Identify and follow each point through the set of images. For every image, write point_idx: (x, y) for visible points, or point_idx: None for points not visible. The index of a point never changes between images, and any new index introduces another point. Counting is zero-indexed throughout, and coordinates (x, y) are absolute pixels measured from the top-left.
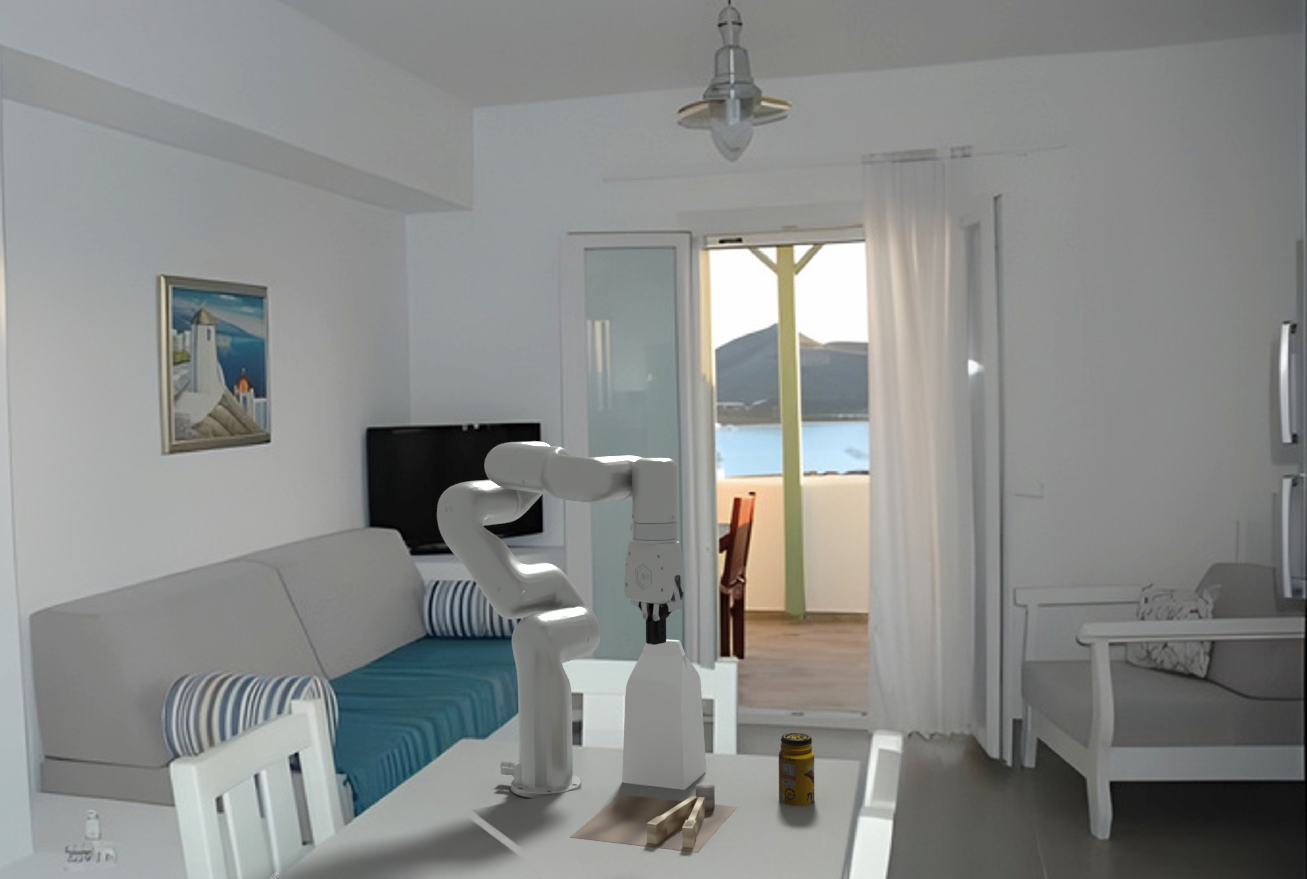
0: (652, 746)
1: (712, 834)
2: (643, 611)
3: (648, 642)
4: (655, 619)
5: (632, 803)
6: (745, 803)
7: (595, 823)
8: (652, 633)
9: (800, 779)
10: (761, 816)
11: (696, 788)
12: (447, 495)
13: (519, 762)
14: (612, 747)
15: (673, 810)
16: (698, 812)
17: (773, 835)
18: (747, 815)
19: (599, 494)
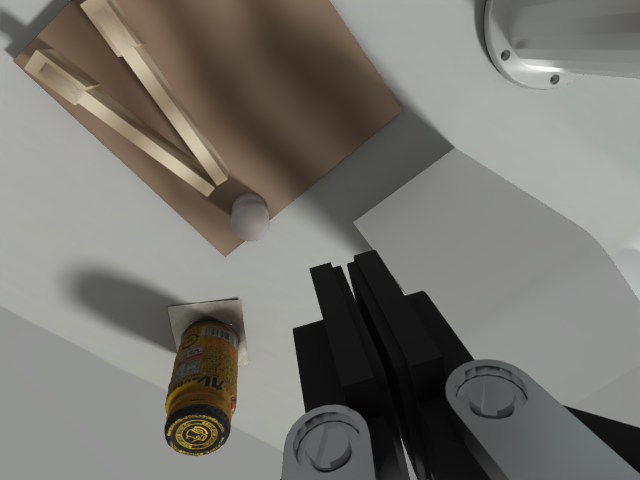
0: (438, 217)
1: (104, 143)
2: (547, 421)
3: (354, 258)
4: (333, 424)
5: (344, 103)
6: (261, 285)
7: None
8: (322, 308)
9: (173, 371)
10: (190, 276)
11: (251, 205)
12: None
13: None
14: (636, 242)
15: (158, 97)
16: (133, 142)
17: (92, 246)
18: (206, 260)
19: None
